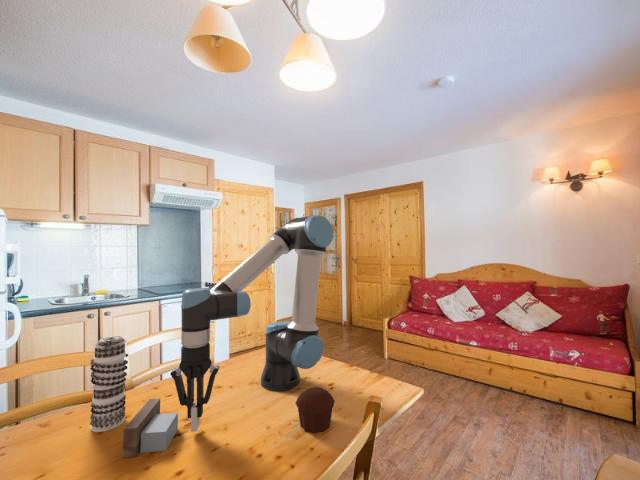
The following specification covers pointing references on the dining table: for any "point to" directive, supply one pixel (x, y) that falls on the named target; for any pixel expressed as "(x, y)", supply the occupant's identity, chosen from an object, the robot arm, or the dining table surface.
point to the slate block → (159, 432)
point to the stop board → (138, 427)
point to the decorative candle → (108, 384)
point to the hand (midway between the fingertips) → (195, 428)
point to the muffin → (315, 409)
